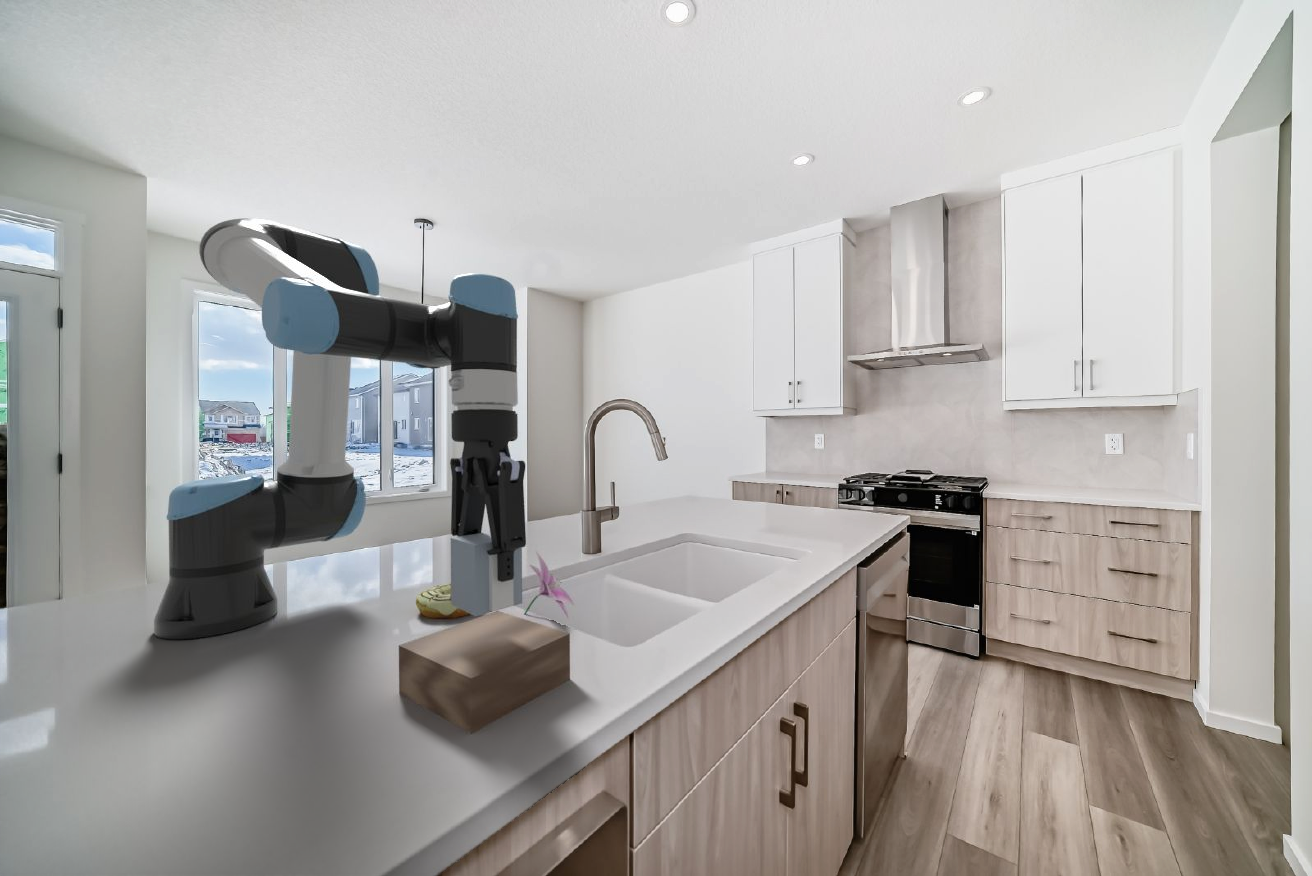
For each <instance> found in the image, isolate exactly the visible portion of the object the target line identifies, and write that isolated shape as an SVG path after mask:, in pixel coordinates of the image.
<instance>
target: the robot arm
mask: <svg viewBox="0 0 1312 876" xmlns="http://www.w3.org/2000/svg"><path fill="white" fill-rule="evenodd" d="M198 249H199V257H200V261H201V263H202V265H203V267H204V269H205V271H206V272H207V273H208V274H209V275H210V276H211V277H212V279H214V280H215V281H216V282H217V283H218V284H220V285H222V286H223V287H224V288H226V289H228V290H230V291H232V292H234V293H236V294H237V293H238V294H240V295H241V294H242V295H245V296H246V297H247V298H249V300H251V301H252V302H254V303H255V304H256V305H257V306H258V307H260V308H261V322H262V324H261V325H262V327H263V330H264V332H265V338H266V339H267V340H268V342H269V343H270V344H271V345H272V346H275V347H276V348H278V349H282V350H288V351H293V353H292V375H291V377H292V378H291V396H290V397H291V398H290V418H289V443H288V458H287V460H286V461H285V462H283V463H282V464H281V465H279V466H278V467H277V468H276V469H277V471H276V479H274V480H265V477H264V476H263V475H262V473H256V472H255V473H254V472H253V473H251V472H250V473H249V472H248V473H241V474H231V475H224V476H218V477H217V476H216V477H211V478H204V479H200V480H195V481H190V482H187V483H183V484H181V485H178V486H176V487H174V488H173V489H172V491H171V492H170V494H169V497H168V506H167V508H168V509H167V514H166V520H167V521H168V561H169V562H168V564H169V565H168V566H169V569H168V570H169V571H168V572H169V580H168V583H167V587H166V589H165V591H164V594H163V596H162V598H161V600H160V603H159V606H158V608H157V612H155V613H156V614H155V617H154V620H153V622H154V623H153V628H154V629H153V630H154V631H153V634H154V636H155V637H158V638H160V639H165V640H166V639H167V640H188V639H197V638H198V639H199V638H204V637H205V638H206V637H211V636H216V635H217V636H218V635H223V634H227V633H231V632H235V631H239V630H243V629H246V628H249V627H252V626H255V625H258V624H260V623H263V622H265V621H267V620H269V619H271V618H272V617H274V616H276V615H277V613H278V611H279V610H278V609H279V608H278V597H277V594H276V592H275V590H274V588H273V585H272V582H271V580H270V578H269V576H268V573H267V572H266V569H265V551H266V550H270V549H277V548H284V547H289V546H296V545H302V544H310V543H317V542H329V541H331V540H333V539H339V538H344V537H347V536H349V535H351V534H352V533H353V532H354V531H355V530H356V529H357V528H358V527H359V525H360V524H361V522H362V519H363V518H364V514H365V509H366V504H367V503H366V502H367V501H366V500H367V497H366V496H367V495H366V494H367V493H366V492H365V488H366V487H365V484H364V481H363V480H362V478H361V477H360V476H358V475H355V473H354V472H355V468H354V467H353V466H352V465H351V464H350V463H349V462H348V461H347V460H346V451H347V448H346V447H347V437H348V436H347V435H348V417H349V402H350V401H349V400H350V397H349V396H350V383H351V382H350V381H351V367H352V358H359V359H368V360H377V361H385V362H394V363H402V364H403V363H405V364H407V365H409V366H410V367H413V368H417V369H431V370H435V369H440V368H443V367H446V366H447V367H449V366H450V372H451V378H449V380H448V385H449V387H451V404H452V405H453V406H456V407H457V408H456V409H457V410H456V409H454V410H453V411H452V413H451V422H450V423H451V439H452V440H453V441H454V442H457V443H463V450H462V454H461V457H453V458H450V460H449V461H450V462H449V465H450V471H451V509H450V511H451V520H450V533H451V536H453V537H459V536H465V535H472V534H478V533H482V531H483V530H482V528H483V523H484V516H485V509H486V514H487V516H486V517H487V521H488V526H489V532H490V534H491V540H492V546H493V549H491V550H488V551H487V553H488V554H489V610H491V611H493V612H496V610H497V611H500V610H503V608H504V609H507V608H511V607H513V605H514V589H513V577H514V571H513V570H514V551H515V550H516V549H518V548H521V547H522V548H525V547H526V545H527V534H526V517H525V516H526V514H525V513H526V512H525V511H526V510H525V493H524V492H525V491H524V478H525V472H526V463H525V461H524V460H514V459H512V458H511V456H512V455H511V452H510V449H509V442H514V441H517V439H518V437H519V435H518V433H519V431H518V430H519V429H518V428H519V427H518V424H519V423H518V421H519V420H518V413H516V410H513V409H514V408H513V407H516V406H517V405H518V403H519V401H518V400H519V397H518V372H517V367H518V353H517V352H518V346H517V345H518V318H519V314H518V312H517V299H516V291H515V290H516V289H515V288H514V285H513V284H512V282H511V283H510V281H508V279H505V278H503V277H499V276H496V275H491V274H483V273H466V274H460V275H456V276H455V277H453V279H452V280H451V282H450V288H449V294H448V300H449V302H447V303H445V304H441V305H437V306H431V305H425V304H421V303H416V302H410V301H406V300H400V299H397V298H391V297H385V296H382V295H381V296H380V281H379V280H380V278H379V274H378V273H379V271H378V269H377V265H376V264H375V260H374V259H373V258H372V256H371V254H370V253H369V252H368V251H367V250H365V248H364V247H361V246H360V245H356V244H354V243H353V244H352V243H351V242H348V241H345V240H343V239H341V238H336V237H331V236H327V235H323V234H320V233H316V232H311V231H308V230H305V229H301V228H296V227H293V226H288V225H285V224H281V223H278V222H275V221H271V220H268V219H267V220H265V219H260V218H259V219H258V218H249V217H248V218H233V219H228V220H223V221H221V222H218V223H216V224H215V225H213V226H212V227H210V228H208V229H207V231H205V233H204V234H203V236H202V237H201V239H200V243H199V247H198ZM516 537H517V538H516ZM510 606H511V607H510ZM514 606H515V605H514ZM506 607H507V608H506ZM499 609H500V610H499Z"/></svg>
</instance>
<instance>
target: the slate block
mask: <svg viewBox="0 0 1312 876" xmlns="http://www.w3.org/2000/svg"><path fill="white" fill-rule="evenodd" d="M516 538H517V537H516ZM491 549H493V546H492V540H491V534H490V531H485V532H481V533H478V534H472V535H465V536H459V537H458V536H453V537H452V536H451V537H450V584H451V604H452V605H454V606H456V607H458V608H459V609H461V610H463V611H465V612H467V613H469V614H468V615H471V616H473V617H480V616H483V615H487V614H490V613H493V612H494V611H491V610H489V554H488V553H487V551H488V550H491ZM513 571H514V577H513V589H514V605H513V606H518V605H521V604H523V547H521V548H518V549H516V550H515V551H514V570H513ZM513 606H510V607H509V608H511V607H513ZM507 608H508V607H506V608H503V609H507ZM503 609H502V610H503ZM496 611H501V609H499V610H496ZM496 611H495V612H496Z"/></svg>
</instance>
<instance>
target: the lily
mask: <svg viewBox="0 0 1312 876" xmlns="http://www.w3.org/2000/svg"><path fill="white" fill-rule="evenodd" d="M534 552H535V554H536V556H537V558H538V562H539V567H540V568H537V567H536V566H535V565H533V564H529V565H528V566H529V567H530V569H532V571H533V572H534V573H535V574H536V575H537V576H538V577H539V580H540V581H539V590H538V593H537V594H536V595H535V597H534V598H533V599H532V601H531V602H530V603H529V604H528V607H527V608H526V610H525V611H524V613H523V614H524V616H525V615H527V613H528V612H529V609H530V608H531V607H532V605H533V603H534V602H535V601H536V599H537V598H538V597H540V596H543V597H546V598H550V600H552V601H555V602H556V603H557V604H558V606H559V607H560V608H561V610H562V611H563V614H565V617H566V618H567V619H569V615H568V611H567V608H566V606H565V604H564V603H568V604H570V605H572V606H574V607H575V603H574V601H573V599H572V598H571V597H570V595H569V594H568V593H567V591H566V590H565V589H564V588H563V587H562V586H560V585H559V584H562V583H563V582H561V580H558V579H556V577H555V575H554V574H553V573H552V572H550V570H549V567H548V566H547V564H546V562H545V560H544V559H543V558H542V556H541V554H539V552H538V551H537V550H534Z"/></svg>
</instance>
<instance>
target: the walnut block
mask: <svg viewBox="0 0 1312 876" xmlns="http://www.w3.org/2000/svg"><path fill="white" fill-rule="evenodd" d="M570 637H571V634H570V633H569V632H567V631H563V630H560V629H557V628H553V627H551V626H547V625H544V624H541V623H537V622H534V621H531V620H528V619H525V618H522V617H519V616H515V615H513V614H509V613H505V612H503V611H501V610H497V611H493V612H489V613H486V614H483V615H480V616H477V617H476V618H473V619H470V620H467V621H465V622H462V623H459V624H456V625H453V626H450V627H448V628H444V629H440V630H438V631H435V632H433V633H430V634H428V635H423V636H422V637H419V638H415V639H413V640H409V641H408V642H407V641H406V642H404V643H402V644H399V645H398V682H399V683H398V689H399V691H398V693H399V694H400V695H402V696H404V697H405V698H407V699H408V700H411V702H414V703H416V704H418V705H420V706H421V707H423V708H425V709H426V710H429V711H430V712H432V713H434V714H435V715H437V716H439V717H440V718H442V719H444V720H447V722H450V723H451V724H454V725H455V726H456V727H459V728H460V729H463V730H464V731H466V732H467V733H470V734H471V735H472V734H474V733H475V732H477V731H480V730H481V729H483V728H485V727H486V726H489V725H491V724H492V723H494V722H496V721H498V720H499V719H501V718H502V717H505V716H506V715H508V714H510V713H512V712H514V711H515V710H517V709H519V708H521V707H522V706H524V705H526V704H528V703H530V702H532V701H533V700H535V699H537V698H538V697H540V696H542V695H544V694H546V693H548V692H549V691H551V690H553V689H555V688H557V687H559V686H561V685H562V684H563V683H566V682H568V681H569V680H571V638H570Z"/></svg>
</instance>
